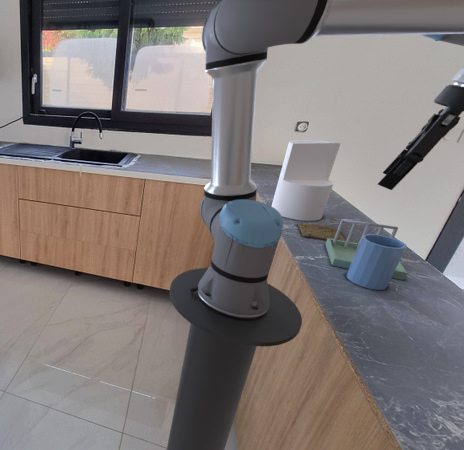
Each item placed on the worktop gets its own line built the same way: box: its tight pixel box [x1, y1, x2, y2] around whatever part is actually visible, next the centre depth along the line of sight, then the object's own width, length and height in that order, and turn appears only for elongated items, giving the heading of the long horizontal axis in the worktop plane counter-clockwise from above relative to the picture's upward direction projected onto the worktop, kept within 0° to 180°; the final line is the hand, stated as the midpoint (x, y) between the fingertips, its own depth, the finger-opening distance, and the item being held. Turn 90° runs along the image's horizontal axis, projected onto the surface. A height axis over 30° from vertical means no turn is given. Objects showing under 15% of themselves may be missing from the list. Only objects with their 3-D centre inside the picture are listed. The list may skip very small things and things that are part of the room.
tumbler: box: [346, 233, 408, 291], centre depth 80 cm, size 8×8×12 cm
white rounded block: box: [270, 139, 341, 222], centre depth 122 cm, size 17×17×28 cm
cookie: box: [297, 222, 347, 241], centre depth 109 cm, size 12×12×1 cm
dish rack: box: [324, 218, 408, 281], centre depth 90 cm, size 15×15×10 cm
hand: (386, 180), depth 74 cm, fingers open, 13 cm apart
